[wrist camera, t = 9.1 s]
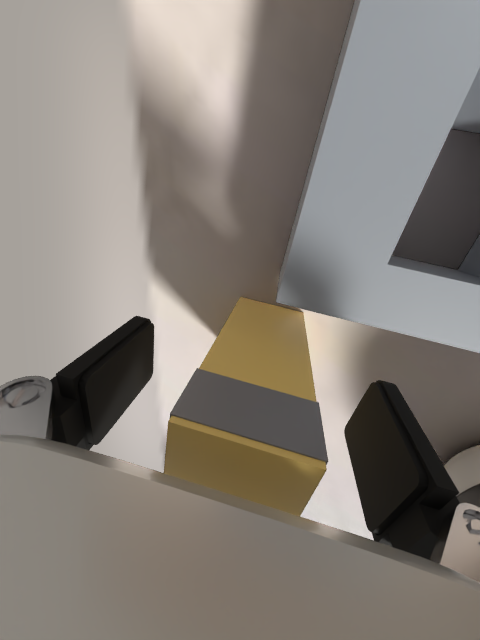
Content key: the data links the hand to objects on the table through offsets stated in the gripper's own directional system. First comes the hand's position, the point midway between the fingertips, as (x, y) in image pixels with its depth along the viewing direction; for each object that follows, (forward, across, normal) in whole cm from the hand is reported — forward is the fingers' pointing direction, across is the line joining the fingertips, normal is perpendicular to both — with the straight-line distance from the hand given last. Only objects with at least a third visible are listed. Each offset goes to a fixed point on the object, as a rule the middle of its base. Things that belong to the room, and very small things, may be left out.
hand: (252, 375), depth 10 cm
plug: (+6, 0, +1) cm, 6 cm away
